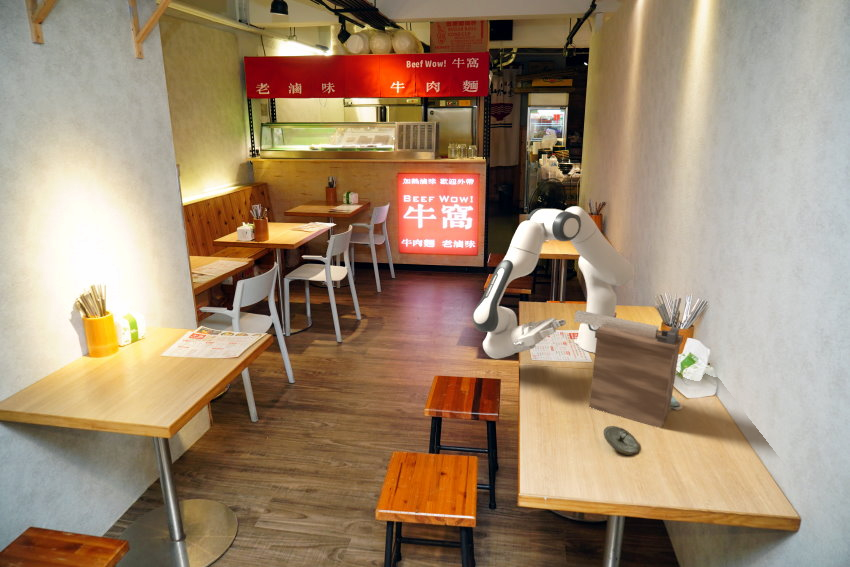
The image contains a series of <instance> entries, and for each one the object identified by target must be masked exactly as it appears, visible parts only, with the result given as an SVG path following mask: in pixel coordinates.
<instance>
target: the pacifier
mask: <svg viewBox="0 0 850 567" xmlns="http://www.w3.org/2000/svg"><path fill="white" fill-rule="evenodd" d="M670 409H673V410H676V411H680V410H681V409H683V405H682V403H681V402H679V401H678V400H677V398H676V397H675V396H674V395H672V399H671V406H670Z"/></svg>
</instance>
